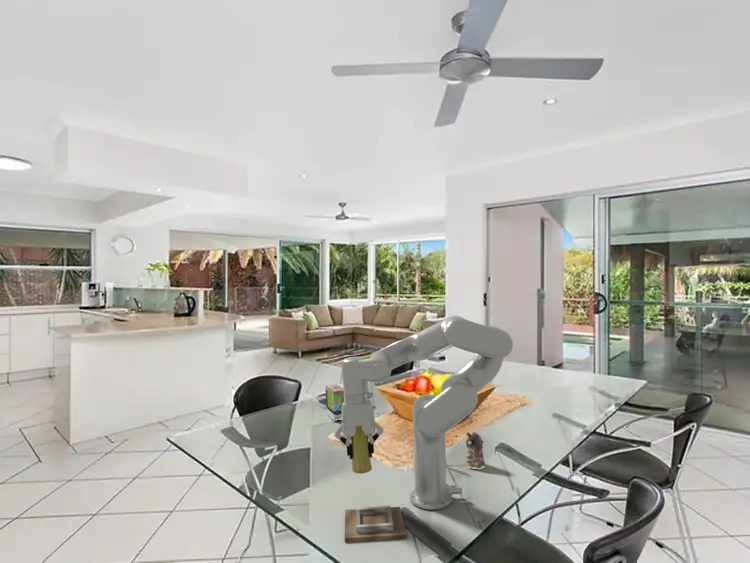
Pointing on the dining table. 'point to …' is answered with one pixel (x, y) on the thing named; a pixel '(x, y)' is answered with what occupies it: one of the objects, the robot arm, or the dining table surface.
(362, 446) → the vase
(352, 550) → the dining table surface
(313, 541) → the dining table surface
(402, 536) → the socket board
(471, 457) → the figurine
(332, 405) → the tea box
